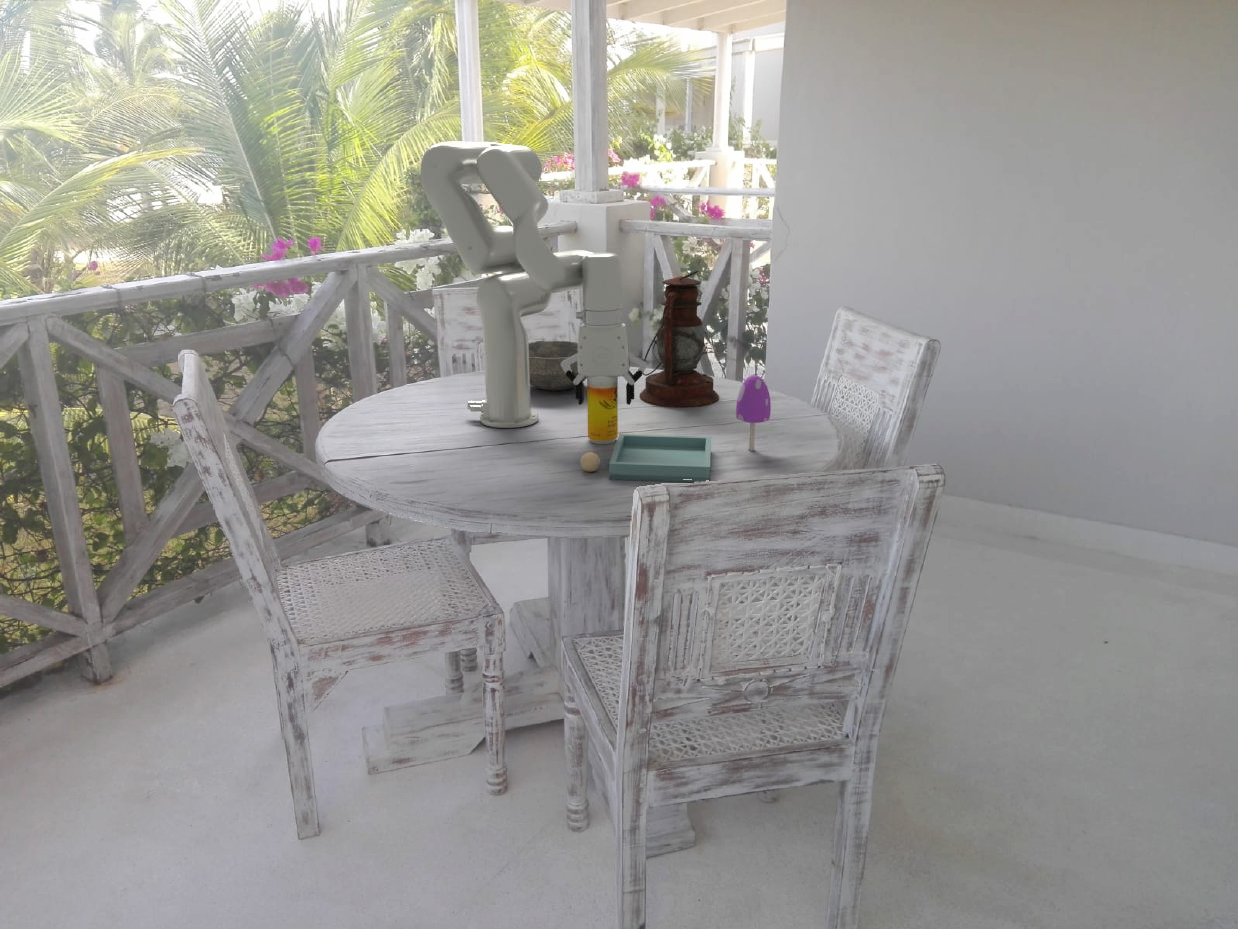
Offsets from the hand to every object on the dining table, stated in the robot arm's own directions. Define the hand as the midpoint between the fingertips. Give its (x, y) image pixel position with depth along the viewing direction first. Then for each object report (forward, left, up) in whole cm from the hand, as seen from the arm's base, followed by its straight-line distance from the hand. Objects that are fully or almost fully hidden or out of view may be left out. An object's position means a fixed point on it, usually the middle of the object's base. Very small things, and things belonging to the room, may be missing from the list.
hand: (605, 402), depth 189 cm
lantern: (+13, +36, -8) cm, 40 cm away
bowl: (-18, +41, -8) cm, 46 cm away
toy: (+29, -3, -8) cm, 31 cm away
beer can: (-1, 0, -8) cm, 8 cm away
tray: (+12, -14, -8) cm, 20 cm away
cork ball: (-1, -19, -8) cm, 20 cm away
